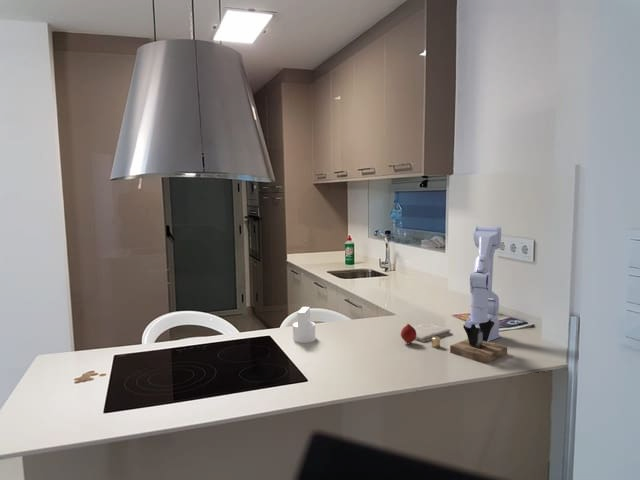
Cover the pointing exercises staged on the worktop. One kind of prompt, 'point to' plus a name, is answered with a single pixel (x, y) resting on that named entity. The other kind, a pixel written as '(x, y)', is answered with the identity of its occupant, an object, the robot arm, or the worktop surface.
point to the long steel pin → (479, 340)
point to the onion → (408, 334)
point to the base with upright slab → (304, 327)
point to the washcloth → (429, 331)
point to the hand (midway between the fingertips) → (478, 343)
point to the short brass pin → (436, 342)
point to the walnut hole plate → (479, 351)
